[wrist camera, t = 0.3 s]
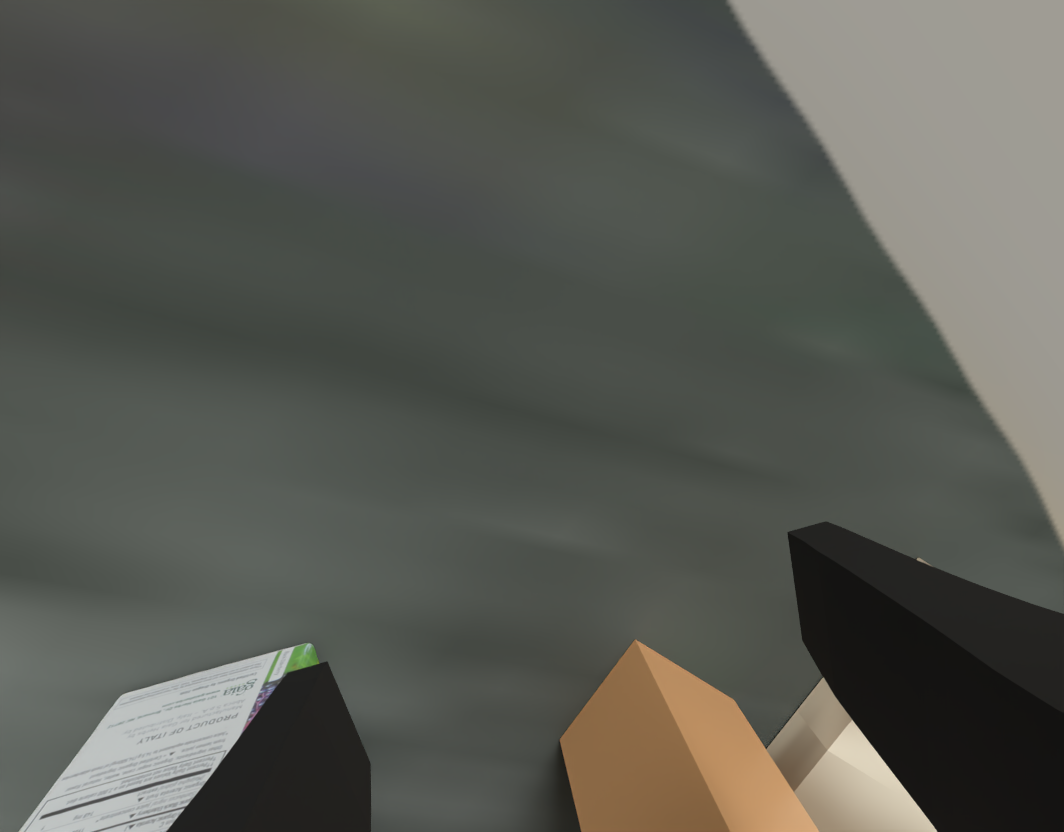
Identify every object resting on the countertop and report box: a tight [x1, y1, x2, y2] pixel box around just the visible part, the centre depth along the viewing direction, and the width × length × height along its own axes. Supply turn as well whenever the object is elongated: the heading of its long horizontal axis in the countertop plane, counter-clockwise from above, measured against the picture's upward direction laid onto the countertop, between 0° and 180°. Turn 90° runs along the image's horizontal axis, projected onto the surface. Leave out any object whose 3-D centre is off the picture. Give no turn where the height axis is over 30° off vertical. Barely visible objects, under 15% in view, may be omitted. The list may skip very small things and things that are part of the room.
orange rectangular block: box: [560, 640, 819, 832], centre depth 20 cm, size 4×4×8 cm
